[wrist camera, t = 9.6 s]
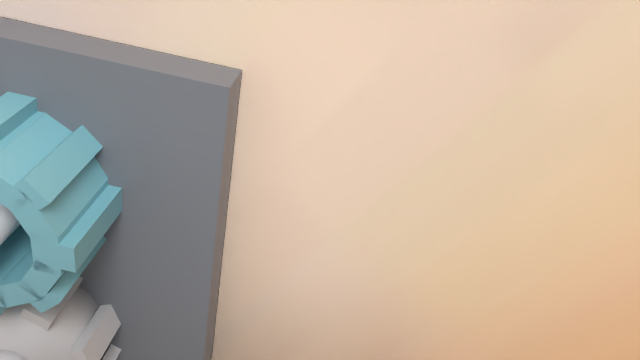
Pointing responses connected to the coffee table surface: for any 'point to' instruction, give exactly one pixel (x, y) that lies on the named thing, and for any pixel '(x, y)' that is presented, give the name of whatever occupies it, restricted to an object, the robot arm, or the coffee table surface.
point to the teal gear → (49, 204)
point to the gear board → (131, 195)
